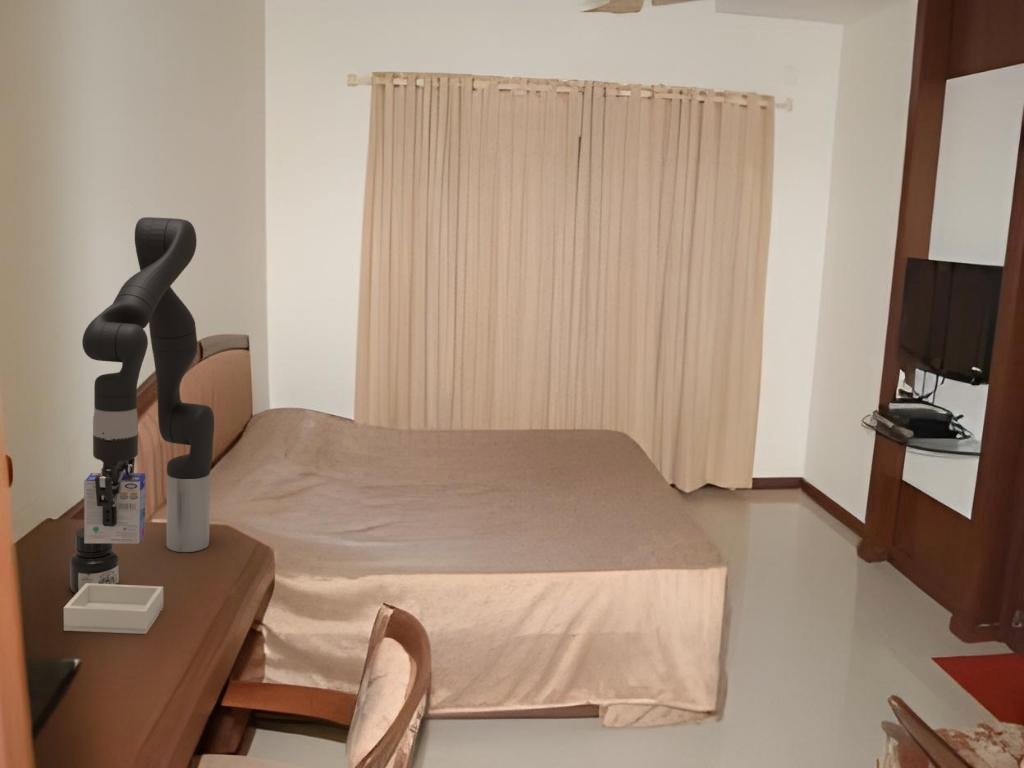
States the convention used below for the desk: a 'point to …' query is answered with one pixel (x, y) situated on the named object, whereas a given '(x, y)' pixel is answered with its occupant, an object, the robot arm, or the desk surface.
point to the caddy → (113, 608)
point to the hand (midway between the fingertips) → (115, 519)
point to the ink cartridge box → (128, 512)
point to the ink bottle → (92, 563)
